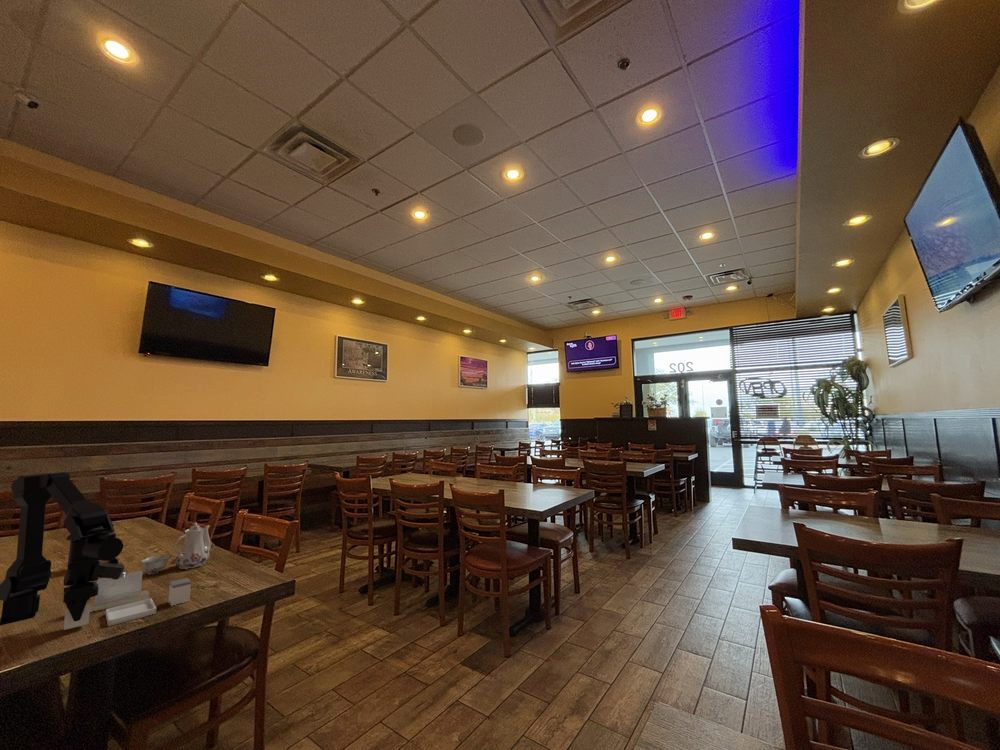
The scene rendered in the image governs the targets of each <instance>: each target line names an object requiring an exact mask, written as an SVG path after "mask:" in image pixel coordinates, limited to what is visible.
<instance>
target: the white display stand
mask: <svg viewBox="0 0 1000 750" xmlns="http://www.w3.org/2000/svg"><path fill="white" fill-rule="evenodd" d="M143 573H144V572H143ZM143 573H142V570H138V571H132V572H128V571H126V570H123V572H122V574H121V575H120V577H119V579H117V580H114V579H112V578H98V580H96V583H97V584H98V587H99V588H98V595H96V596H94V601H91V605H90V612H91V613H93V611H95V612H99V611H102V610H106V609H109V608H113V607H117V606H121V605H125V604H129V603H133V602H137V601H141V600H145V599H150V592H149V590H148V589H144V590H142V584H143V575H144V574H143ZM98 610H99V611H98Z"/></svg>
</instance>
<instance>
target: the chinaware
mask: <svg viewBox="0 0 1000 750" xmlns="http://www.w3.org/2000/svg"><path fill="white" fill-rule="evenodd" d="M209 528H210V524H207V525H206V526H205V527H201V525H199V524H198V522H196V521H195V522H194V523H193V524H192V525H191V526H190V527H189V528H188V529H185V530H184V533H185V534H184V535H183V534H182V535H181V536H179V537H178V538H177V540H176V542H175V544H174V552H175V553H176V554H177V556H176V557H175V559H174V564H175V565H176V566H177V567H179V568H181V569H186V568H193V567H197V566H201V565H203V564H205V563H206V562H207V561H208V559H210V557H211V552H213V551H214V550H215V548H216V544H215V543H213V541H212V540H211V538H210V535H209ZM182 539H183V540H184V543H183V545H182V546H183V547H182V548H181V550H180V551H179V550H178V545H179V542H180V541H181V540H182ZM212 545H213V548H212V549H211V546H212ZM172 558H173V557H172V555H169V554H166V553H164V554H160V555H150V556H148V557H147V558H145V559H143V558H142V559H140V562H141V563H142V565H143V566H142V567H141V571H142V573H143V574H142V575H145V574H147V575H156V574H155V573H157V574H159V573H158V572H159V571H162V570H164V568H165V567H166V566H167V565H168V562H169V560H170V559H172ZM205 565H206V564H205ZM203 566H204V565H203ZM201 567H202V566H201ZM144 570H145V572H144Z"/></svg>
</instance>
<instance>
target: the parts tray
mask: <svg viewBox="0 0 1000 750" xmlns="http://www.w3.org/2000/svg"><path fill="white" fill-rule="evenodd" d="M152 614H153V615H155V614H157V606H156V605H155V602H154V600H153V599H152V598H151V597H149V598H148V599H144V600H140V601H136V602H132V603H128V604H124V605H119V606H115V607H111V608H107V609H105V619H106V622H107V627H108V626H109V627H112V626H115V625H120V624H123V623H127V622H130V621H134V620H138V619H142V618H146V617H149V615H150V616H153V615H152Z"/></svg>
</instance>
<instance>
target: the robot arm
mask: <svg viewBox="0 0 1000 750" xmlns="http://www.w3.org/2000/svg"><path fill="white" fill-rule="evenodd" d="M10 486H11V487H10V489H11V491H12V498H13V500H14V502H15V503H17V504H18V505H19V506H20V511H19V524H18V535H17V548H16V558H15V560H14V561H13V562H12V563H11V565H10V566H9V567H8V568H7V570H6V572H5V578H4V579H3V581H2V582H1V583H0V601H2V608H1V617H0V625H3V624H8V623H11V622H16V621H21V620H24V619H29V618H34V617H35V616H36V614H37V613H38V612H39V607H40V602H41V601H40V600H41V594H38V592H41V591H45V590H47V587H48V585H49V582H50V580H51V577H52V570H51V568H52V560H50V559H49V560H48V559H47V558H46V557H45V556H44V555H43V551H44V550H43V549H44V548H43V547H44V537H45V536H44V535H45V533H44V532H45V519H46V511H47V510H46V507H47V503H49V501H50V500H51V499H52V498H53V499H54V501H55V502H56V504H58V506H59V507H60V509H61V510H62V511H63V513H64V515H65V517H64V520H63V524H64V526H65V529H66V530H67V532H68V533H69V535H67V537H66V538H65V539H66V541H70V543H69V551H68V560H67V568H66V574H65V575H64V577H63V587H64V586H65V587H64V588H63V597H62V598H63V599H62V601H63V602H62V603H65V607H66V606H67V608H68V610H69V612H70V614H71V616H72V618H73V620H74V621H79V620H80V619H81V616H82V614H83V611H84V608H85V606H86V603H87V601H88V599H90V598H91V599H92V598H93V597H95V596H96V595H98V588H99V587H98V584H97V580H98V579H102V578H112V579H114V580H117V579H119V577H120V575H121V574H122V572H123V571H125V565H124V564H122V563H119V559H118V558H117V557H118V556H120V554H121V553H122V551H123V548H124V543H123V541H122V539H120V538H119V537H117V533H115V528H114V527H115V525H114V523H113V522H112V520H111V519H110V516H109V514H108V512H107V510H106V509H105V508H104V507H102V506H101V505H100V504H98V503H95V502H91V501H89V500H88V499H87V498H86V497H85V495H84V494H83V493H82V492H81V491H80V489H79V488H78V487H77V486H76V484H74V482H73V481H72V480H71V476H70V473H68V472H65V471H61V472H60V471H59V472H48V473H47V472H46V473H36V474H35V473H34V474H33V473H32V474H25V475H20V476H18V477H17V479H15V480H13V481H12V483H11V485H10ZM100 528H102V529H100ZM96 529H97V530H96ZM91 530H93V531H91ZM86 531H88V532H86ZM70 534H71V535H70Z"/></svg>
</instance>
